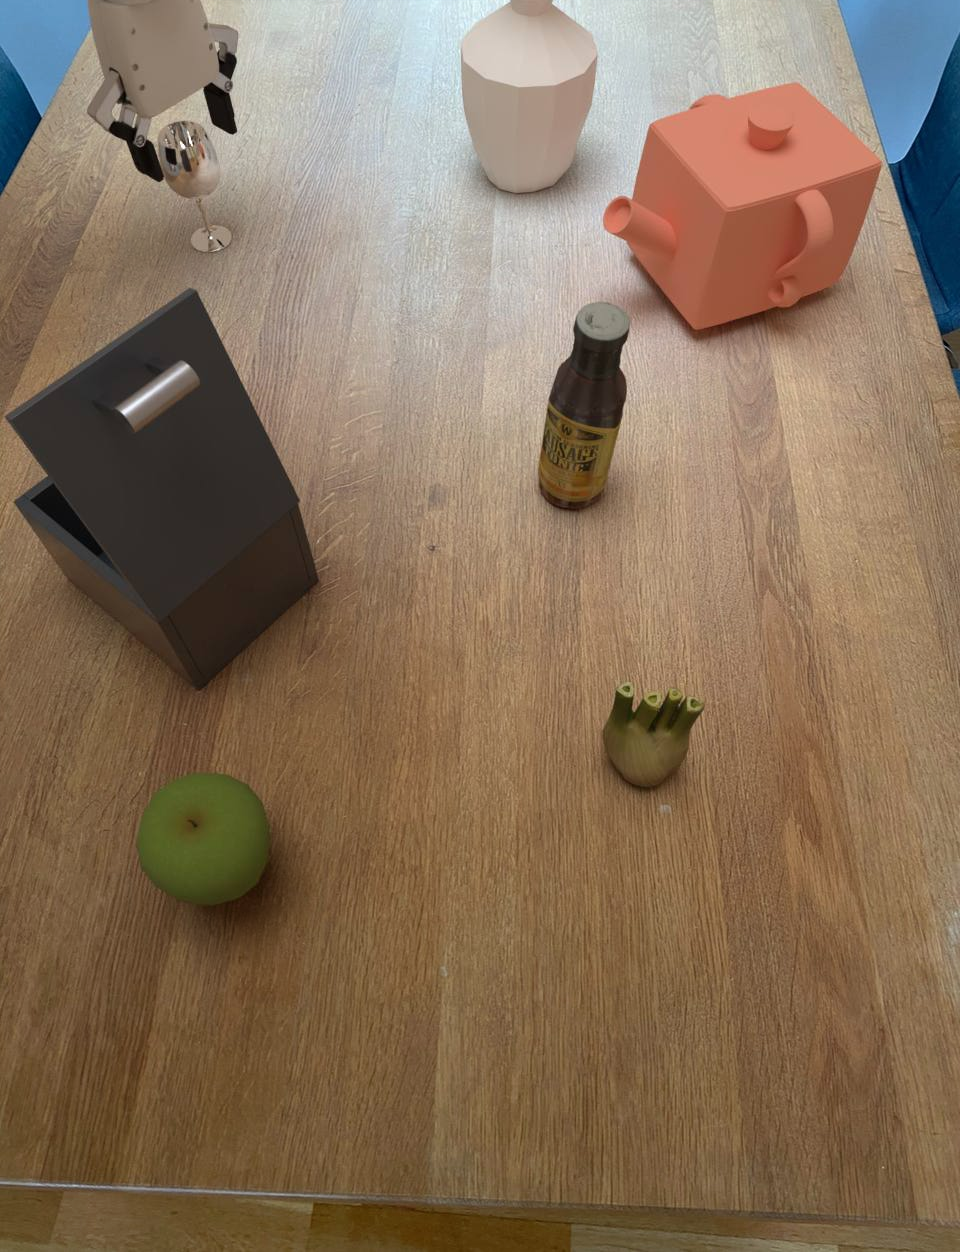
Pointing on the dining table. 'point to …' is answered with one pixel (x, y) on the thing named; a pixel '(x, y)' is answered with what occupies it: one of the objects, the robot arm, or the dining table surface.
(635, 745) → the fennel bulb
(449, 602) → the dining table surface
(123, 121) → the robot arm
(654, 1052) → the dining table surface
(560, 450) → the sauce bottle
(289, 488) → the lid
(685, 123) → the teapot
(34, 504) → the chest
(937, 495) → the dining table surface
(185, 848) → the apple
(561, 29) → the vase
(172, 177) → the wineglass
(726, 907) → the dining table surface
